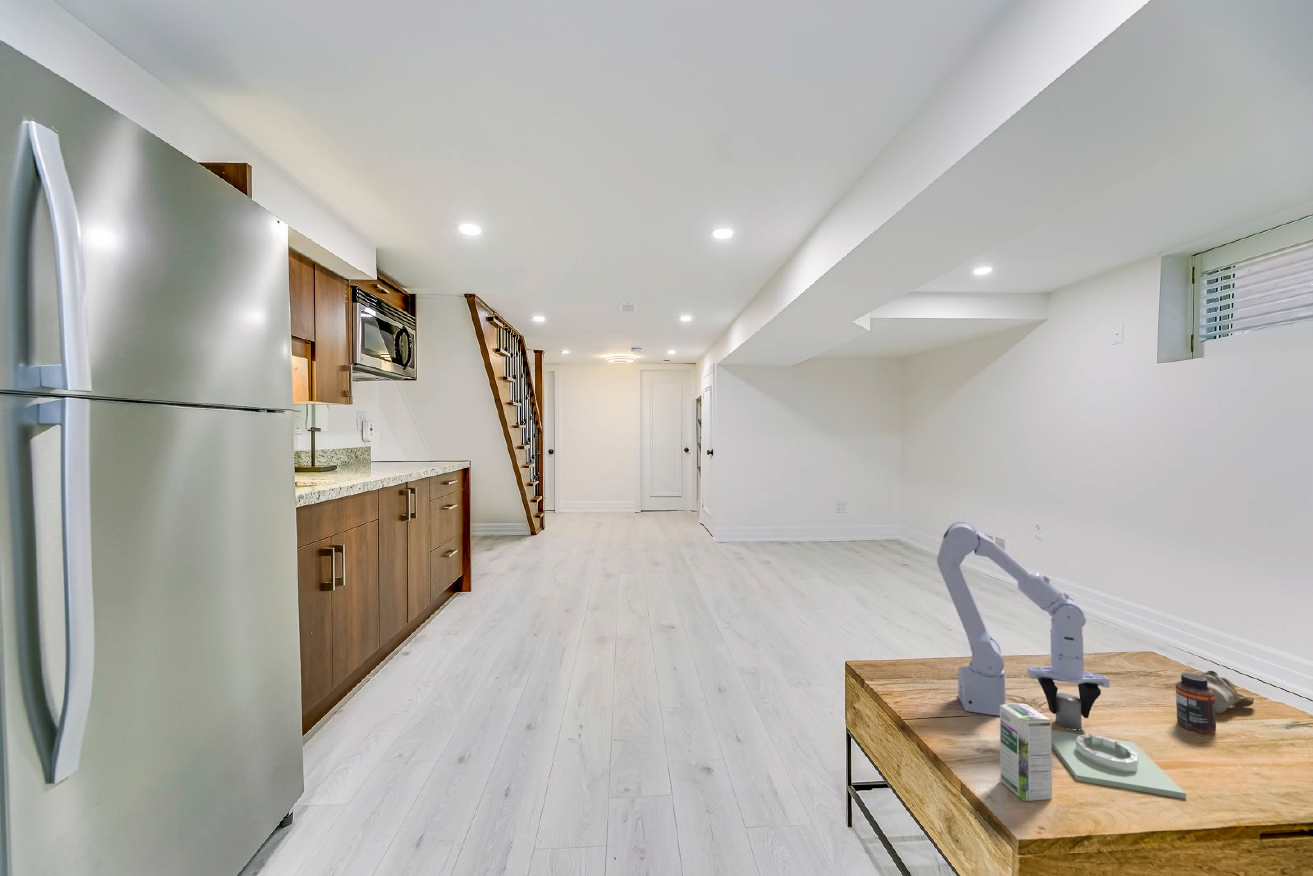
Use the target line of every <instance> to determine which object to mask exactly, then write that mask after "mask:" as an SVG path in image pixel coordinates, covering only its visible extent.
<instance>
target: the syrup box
mask: <svg viewBox="0 0 1313 876" xmlns="http://www.w3.org/2000/svg"><path fill="white" fill-rule="evenodd" d="M1051 730H1052V719H1051V718H1049V717H1047V716H1045V715H1044V714H1042V713H1040V712H1039V711H1038V710H1036V709H1034V708H1033V707H1031V706H1029V705H1028V704H1027V703H1014V702H1013V703H1005V704H1004V705H1000V716H999V743H1000V745H999V748H1000V749H999V751H1000V752H999V753H1000V754H999V757H1000V758H999V759H1000V761H999V762H1000V763H999V764H1000V765H999V767H1000V771H999V772H1000V773H999V774H1000V776H999V778H1000V782H1001V783H1002V784H1004V785H1005V786H1006V787H1007V788H1008V789H1009V790H1011V792H1012V793H1014V794H1016V796H1017V797H1019V798H1020V799H1021V800H1022V801H1023V802H1033V801H1034V802H1036V801H1045V800H1052V799H1053V783H1052V782H1053V779H1052V778H1053V775H1052V774H1053V772H1052V771H1053V769H1052V768H1053V767H1052V764H1053V763H1052V762H1053V761H1052V746H1051Z"/></svg>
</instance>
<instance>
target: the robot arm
mask: <svg viewBox="0 0 1313 876" xmlns="http://www.w3.org/2000/svg"><path fill="white" fill-rule="evenodd" d="M973 551H974V556H975V555H976V556H980V557H986V558H988V559H990V560H991V561H992V562H993V563H995V565H997V566H998V567H999V568H1000V569H1002V570H1003V571H1005V572H1006V573H1007V574H1008V575H1009V576H1011V577H1012V578H1013V579H1015V580H1016V582H1017V589H1018V590H1019V591H1020V592H1022V594H1023V595H1025V596H1026V597H1027V598H1028V599H1029V600H1030V601H1032V602H1033V603H1034V604H1035V605H1036V606H1037V607H1039V608H1040V609H1041V611H1043V612H1047V613H1048V615H1049V616H1051V620H1050V621H1051V622H1050V623H1051V624H1050V625H1051V629H1050V630H1049V631H1050V663H1051V664H1050V666H1046V667H1045V666H1043V667H1042V666H1039V667H1038V666H1036V667H1035V666H1034V667H1033V666H1028V667H1027V676H1028V677H1029V678H1030V679H1031V680H1037V681H1038V682H1039V685H1040V687H1041V689H1042V691H1043V693H1044V695H1045V696H1044V697H1045V699H1046V702H1047V704H1048V705H1047V706H1048V709H1049V711H1050V712H1051V714H1053V715H1054V714H1055V715H1056V713H1057V706H1056V696H1057V693H1058V689H1059V687H1058V686H1056V684H1055V682H1054V681H1056V682H1058V681H1059V682H1066V683H1070V684H1075V685H1077V686H1078V694H1079V699H1080V700H1081V717H1083V718H1084V719H1089V716H1090V712H1091V710H1092V707H1093V705H1094V703H1095V701H1096V700H1097V699H1098V698H1099V696H1101V694H1102V689H1100V688H1099V686H1100V687H1103V688H1106V689H1107V688H1108V689H1109V688H1110V679H1109V678H1108V677H1107V676H1106V675H1104V674H1099V673H1098V674H1097V673H1093V672H1088V671H1085V669H1084V667H1085V666H1084V664H1085V662H1084V636H1083V627H1085V625H1086V622H1087V619H1086V617H1085V614H1084V612H1083V611H1082V609H1081V608H1080V606H1079V605H1078V604H1077V603H1076V602H1075V601H1074V599H1073V598H1071V597H1070V595H1069V594H1067V593H1066V592H1062V591H1061V590H1060V589H1058V588H1057V587H1056V586H1055V585H1054V584H1052V583H1051V582H1050V581H1051V579H1050V577H1048V576H1047V575H1046V574H1043V575H1041V573H1039V572H1036V571H1035V572H1034V571H1033V572H1032V571H1028V570H1027V569H1026V568H1024V566H1022V565H1021V564H1020V563H1019V562H1018V561H1016V559H1014V558H1013V557H1012V556H1011V555H1010V554H1008V552H1006V551H1005V550H1004V549H1003V548H1002V547H1001V546H1000V545H998V544H997V543H996V542H995V541H994V540H992V538H990V537H988V536H987V535H986V534H985V533H983V532H982V531H980V530H976V529H975V528H974V527H973V526H972V525H971V524H970V523H969V522H968V523H967V522H965V521H957V522H953V523H952V524H951V525H950V526H949V527H948V528H947V530H946V531H945V532H944V534H943V537H942V541H941V545H940V548H939V551H938V555H937V560H936V564H937V567H938V569H939V571H940V574H941V576H942V578H943V582H944V583H945V586H946V588H947V590H948V592H949V595H950V598H951V600H952V603H953V605H954V607H955V610H956V612H957V614H958V617H959V620H960V622H961V624H962V626H963V627H962V628H963V629H964V631H965V633H966V637H967V640H968V642H969V643H968V645H969V647H970V651H971V661H970V662H969V663H968V665H966V666H959V667H958V670H957V686H958V688H957V689H958V693H957V697H958V699H959V700H960V702H961V705H962V707H963V709H964V710H965V711H966V712H969V713H976V714H984V715H992V716H997V717H998V716H999V717H1000V705H1004V704H1006V673H1005V672H1006V671H1005V670H1004V668H1005V662H1004V659H1003V657H1002V652H1001V647H1000V645H999V643H998V642H997V641H996V640H995V639H994V638H993V637H992V636H991V634H990V632H989V630H988V629H987V626H986V624H985V622H984V619H983V617H982V615H981V613H980V612H981V611H980V610H979V608H978V605H977V603H976V601H975V598H974V596H973V594H972V592H971V589H970V587H969V585H968V582H967V580H966V577H965V574H964V572H963V569H962V567H961V564H962V563H963V561H964V559H965V558H966V557H967V556H969V554H971V553H973Z"/></svg>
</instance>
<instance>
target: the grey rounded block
mask: <svg viewBox="0 0 1313 876" xmlns="http://www.w3.org/2000/svg"><path fill="white" fill-rule="evenodd" d="M1056 706H1057V713H1056V714H1055V723H1056V724H1057V723H1058V724H1059V725H1058V724H1057V725H1058V726H1060V727H1061V728H1065V729H1066V728H1069V729H1068V730H1070V729H1076V730H1075V731H1080V730H1079V729H1081V728H1083V727H1082V715H1081V700H1080V697H1078V696H1075V695H1072V694H1069V693H1064V692H1057V696H1056ZM1081 730H1082V729H1081Z"/></svg>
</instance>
